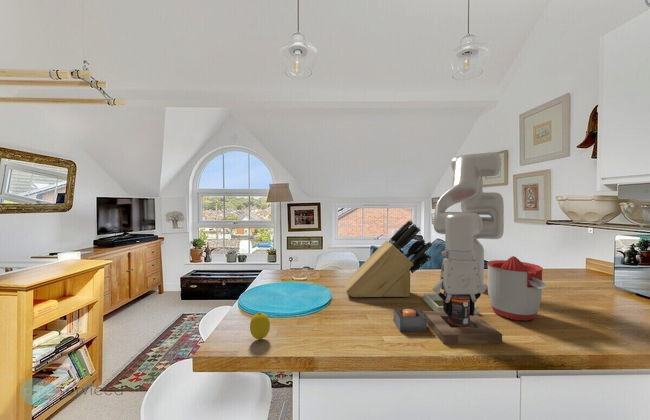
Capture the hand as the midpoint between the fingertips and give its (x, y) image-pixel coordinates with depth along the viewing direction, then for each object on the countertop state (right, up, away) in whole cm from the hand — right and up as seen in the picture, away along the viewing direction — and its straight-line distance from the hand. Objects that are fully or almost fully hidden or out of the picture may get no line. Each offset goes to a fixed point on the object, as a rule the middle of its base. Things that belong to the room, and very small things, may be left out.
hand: (458, 313), depth 82 cm
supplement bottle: (0, -3, 0) cm, 3 cm away
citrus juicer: (+24, -5, +10) cm, 26 cm away
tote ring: (+5, -4, +18) cm, 19 cm away
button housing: (-14, -5, +3) cm, 15 cm away
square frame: (0, -5, 0) cm, 5 cm away
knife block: (-14, -4, +33) cm, 36 cm away
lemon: (-59, -6, -4) cm, 60 cm away
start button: (-14, -4, +3) cm, 15 cm away
